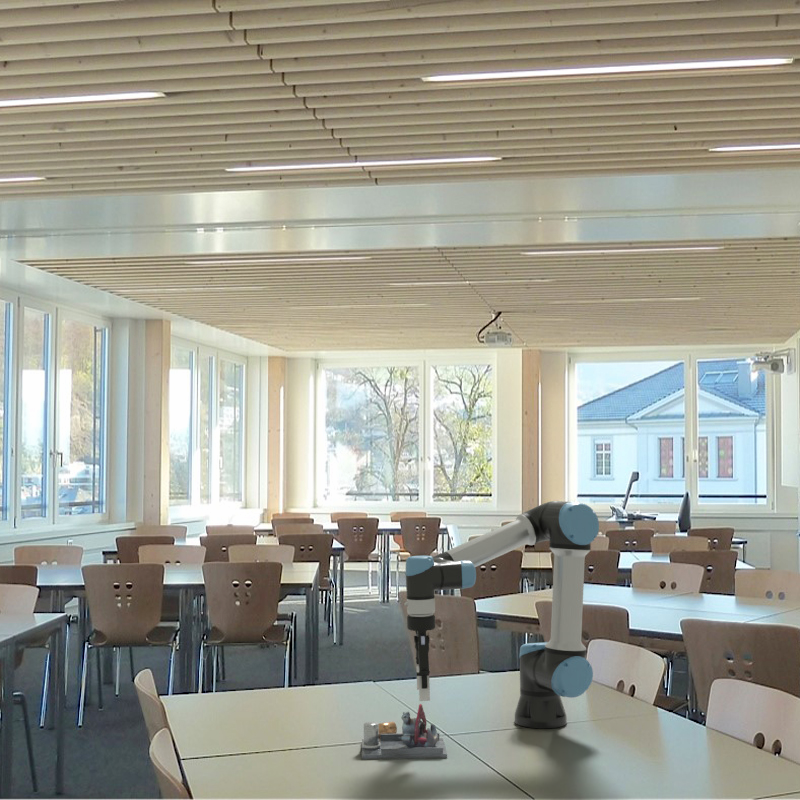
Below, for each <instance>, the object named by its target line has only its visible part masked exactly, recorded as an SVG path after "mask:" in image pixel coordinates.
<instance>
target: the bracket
mask: <svg viewBox="0 0 800 800" xmlns="http://www.w3.org/2000/svg"><path fill="white" fill-rule="evenodd" d="M379 724H380V723H378V722H375V721H371V722H369V721H368V722H365V723H363V739H361V760H392V759H393V760H394V759H396V760H397V759H398V760H399V759H400V760H403V759H409V760H410V759H447V758H448V751H447V750H446V745H445V742H444V739H443V738H441V737H440V732H437V733H438V738H439V739H438V741H437V743H436V745H435V746H434V747H407V746H406V745H405V744H404V742H403V741H401V740H400V739H399V737H401V736H403V733H401V732H400V733H399V732H398V733H397V732H396V734H380V737H379Z"/></svg>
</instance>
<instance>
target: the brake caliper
mask: <svg viewBox="0 0 800 800" xmlns="http://www.w3.org/2000/svg"><path fill="white" fill-rule="evenodd" d="M401 720H402V721H403V722H402V727H401V729H402V733H403V736H401V737H399V739H400V740H401V741H403V742H404V744H405V745H406V746H407V747H434V746H435V745H436V743H437V741H438V739H439V738H440V737H439V738H438V733H439V732H438V731H437V728H436V725H435V724H434V723H431V724H430V727H427V718H426V714H425V712H424V707H423V704H422V703H420V704H419V705H418V709H417V714H416V717H413V718H412V717H411V713H410V712H409V711H405V712H404V711H403V712H402V716H401Z"/></svg>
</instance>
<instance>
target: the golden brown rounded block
mask: <svg viewBox="0 0 800 800" xmlns="http://www.w3.org/2000/svg"><path fill="white" fill-rule="evenodd" d="M397 731H398V727H397V725H396V722H394V721H389V722H388V721H387V722H382V723H379V738H380V734H396V733H397Z"/></svg>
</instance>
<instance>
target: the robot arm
mask: <svg viewBox="0 0 800 800" xmlns="http://www.w3.org/2000/svg"><path fill="white" fill-rule="evenodd" d="M599 530H600V522H599V518H598V516H597V514H596V512H595V511H594V510H593V508H592V507H590V506H589V505H587V504H585V503H583V502H578V501H559V500H552V501H548V502H545V503H542V504H540V505H537V506H535V507H533V508H531V509H529V510H527V511H525V512H523V513H520V514H517V516H516V518H515V520H514V521H511V522H509V523H506V524H504V525H501V526H500V527H498V528H495V529H493V530H490V531H489V532H486V533H483V534H482V535H479V536H477V537H474V538H472V539H470V540H468V541H467V542H464V543H461V544H460V545H456V546H455V547H453V548H451V549H448V550H446V551H444V552H442V553H438V554H436V555H433V556H432V555H413V556H409V557H407V559H406V560H405V573H404V575H405V588H406V602H404V604H403V605H404V606H405V607H406V612H407V616H406V626H407V627H406V628H407V629H408V630H409V631H413V632H415V635H413V641H414V648H415V654H416V655H415V660H416V661H415V663H416V666H415V667H416V668H415V669H416V690H417V691H418V696H419V702H431V691H430V690H431V689H430V688H431V687H430V673H431V671H430V663H429V653H430V635H428V634H427V631H433V630H434V629H436V616H435V612H436V596H435V591H437V592H438V591H446V590H447V591H448V590H449V591H451V590H464V589H469V588H472V587H474V586H475V583H476V581H477V570H476V567H479V566H481V565H483V564H485V563H488V562H490V561H491V560H494V559H497V558H498V557H501V556H503V555H505V554H507V553H510V552H511V551H514V550H516V549H518V548H521V547H523V546H525V545H528V546H533V545H536V544H539V543H542V542H549V545H548V546H549V547H548V548H549V550H550V551H551V552H552V553H553V555H554V556H553V558H554V559H553V579H552V597H551V598H552V602H551V603H552V604H551V624H550V639H549V641H546V642H544V641H543V642H530V643H524V644H522V645H521V646H520V647H519V655H518V659H519V690H520V691H519V698H518V701H517V704H516V709H515V712H514V723H515V724H516V725H518V726H521V727H525V728H532V729H555V728H561V727H564V726H565V725H567V721H568V720H567V713H566V712H567V711H566V709H565V707H564V704H563V700H562V697H563V698H565V697H566V698H571V699H572V698H573V699H574V698H578V697H580V696H582V695H584V693H585V692H586V691H588V689H589V688H590V686H591V684H592V681H593V677H594V670H593V667H592V665H591V664H590V661H589V660H587V647H586V646H585V644H583V642H582V635H583V634H582V632H583V631H582V630H583V629H582V628H583V609H584V607H583V606H584V582H585V564H586V563H585V558H586V556H587V555H588V554H590V552H591V548H592V547H591V546H592V545H591V544H592V542H593V541H594V540H595V539H596V538H597V536H598V535H599V532H600V531H599Z"/></svg>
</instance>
